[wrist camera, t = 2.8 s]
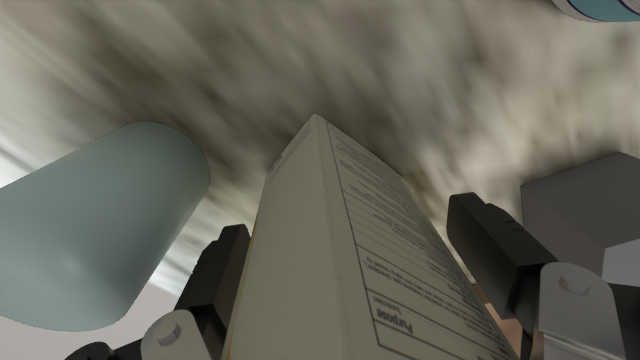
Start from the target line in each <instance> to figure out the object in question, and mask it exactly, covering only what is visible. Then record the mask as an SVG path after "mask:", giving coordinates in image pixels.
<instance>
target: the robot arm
mask: <svg viewBox="0 0 640 360" xmlns="http://www.w3.org/2000/svg"><path fill="white" fill-rule="evenodd" d="M446 228H447V235H448V238H449V240H450V242H451V244H452V246H453V247H454V249H455V250H456V252H457V253H458V255H459V256H460V258H461V259H462V261H463V262H464V264H465V265H466V267H467V268H468V270H469V271H470V273H471V274H472V276H473V277H474V279H475V280H476V282H477V284H478V285H479V287H480V288H481V290H482V291H483V293H484V294H485V296H486V297H487V299H488V300H489V302H490V303H491V305H492V306H493V308H494V309H495V311H496V312H497V314H498V315H499V317H500V318H501V320H507V319H517V320H518V322H519V323H520V325H521V329H520V333H519V343H518V354H517V356H518V357H519V359H520V360H640V287H638V286H630V285H621V284H613V283H606V282H605V281H604V280H603V279H602V278H601V277H599V276H598V275H596V274H595V273H593V272H591V271H590V270H587V269H585V268H583V267H580V266H577V265H574V264H570V263H564V262H560V261H559V260H558V259H557V258H556V257H555V256H554V255H552V254H551V253H550V252H549V251H548V250H547V249H546V248H545V247H544V246H543V245H542V244H541V243H539V242H538V241H537V240H536V239H535V238H534V237H533V236H532V235H531V234H530V233H529V232H528V231H527V230H526V231H525V230H524V228H523V227H522V226H521V225H520V224H519V223H518V222H516V221H515V219H514V218H513V217H511V216H510V215H509V214H508V213H507V212H506V211H505V210H503V209H501V208H499V207H497V206H495V205H493V204H491V203H488V204H485V203H484V202H483V201H482V200H481V199H480V198H479V197H478V196H477V195H476V194H475V193H474V192H469V193H462V194H455V195H451V196H450V198H449V206H448V216H447V227H446ZM250 240H251V238H250V235H249V232H248V229H247V227H246V225H245V224H238V225H231V226H225V227H224V228H223V230H222V232H221V234H220V236H219V239H218V240H216V241H212V242H211V243H210V244H209V245H208V246H207V247H206V248H205V249H204V250H203V251H202V253H201V255H200V257H199V259H198V261H197V265H196V266H195V268H194V270H193V274H191V276H190V278H189V280H188V282H187V284H186V286H185V288H184V290H183V292H182V294H181V296H180V298H179V300H178V302H177V304H176V306H175V308H174V310H173V311H172V312H170V313H167V314H166V315H164V316H162V317H161V318H159V319H158V320H157V321H156V322H154V323H153V324H152V325H151V327H150V328H149V329H148V330H147V332H146V333H145V335H144V337H143V338H141V339H139V340H137V341H134V342H132V343H129V344H127V345H125V346H122V347H120V348H117V349H115V350H112V349H111V348H110V347H109V346H108V345H107V344H106V343H104V342H94V343H90V344H88V345H85V346H83V347H81V348H80V349H78V350H76V351H75V352H73V353H72V354H71V355H69V356H68V357H67V358H66V359H65V360H220V359H221V355H222V351H223V347H224V343H225V339H226V335H227V331H228V327H229V323H230V319H231V315H232V311H233V306H234V303H235V299H236V295H237V291H238V287H239V283H240V279H241V276H242V271H243V267H244V264H245V260H246V256H247V252H248V248H249V244H250Z"/></svg>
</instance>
